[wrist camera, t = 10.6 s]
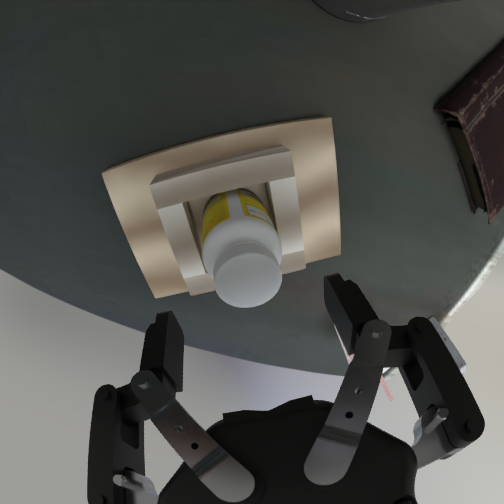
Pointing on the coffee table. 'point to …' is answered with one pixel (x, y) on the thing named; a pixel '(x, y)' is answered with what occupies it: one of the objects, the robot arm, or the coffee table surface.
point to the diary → (480, 133)
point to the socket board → (307, 184)
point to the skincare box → (449, 346)
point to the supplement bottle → (241, 248)
